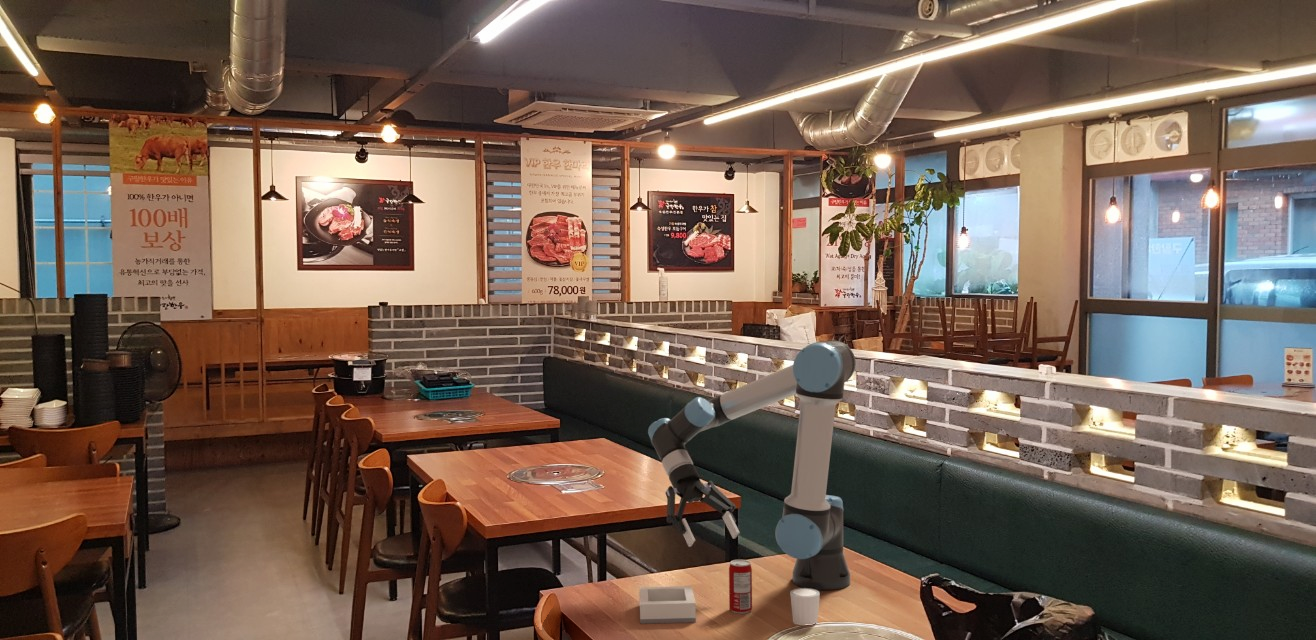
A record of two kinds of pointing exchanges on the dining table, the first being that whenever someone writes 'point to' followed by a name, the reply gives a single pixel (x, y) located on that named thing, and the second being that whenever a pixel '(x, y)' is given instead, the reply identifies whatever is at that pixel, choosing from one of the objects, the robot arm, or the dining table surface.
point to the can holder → (667, 604)
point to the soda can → (740, 586)
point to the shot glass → (804, 605)
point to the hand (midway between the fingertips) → (714, 539)
